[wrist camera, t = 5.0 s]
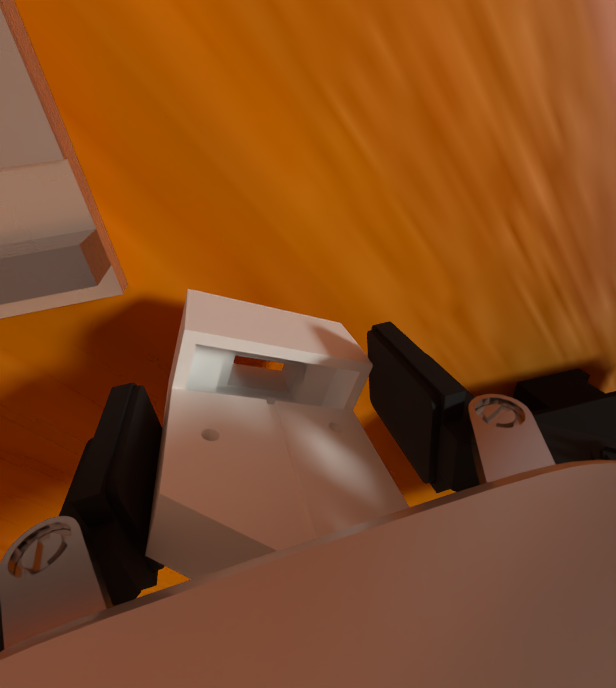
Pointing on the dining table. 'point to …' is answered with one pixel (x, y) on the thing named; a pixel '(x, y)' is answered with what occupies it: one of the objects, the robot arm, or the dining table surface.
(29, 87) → the rail board
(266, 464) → the white wedge bracket
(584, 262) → the dining table surface
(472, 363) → the dining table surface
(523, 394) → the security camera
